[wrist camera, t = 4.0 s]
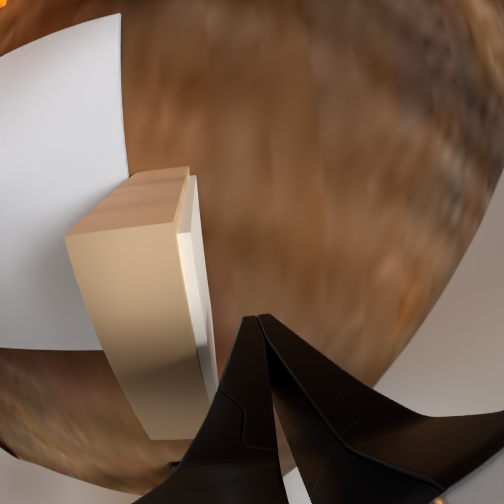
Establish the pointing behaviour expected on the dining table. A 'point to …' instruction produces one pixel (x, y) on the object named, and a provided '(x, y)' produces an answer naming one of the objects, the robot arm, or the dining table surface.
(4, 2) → the orange juice
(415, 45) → the dining table surface
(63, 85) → the mat
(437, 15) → the dining table surface
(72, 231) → the tile
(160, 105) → the dining table surface
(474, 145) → the dining table surface
